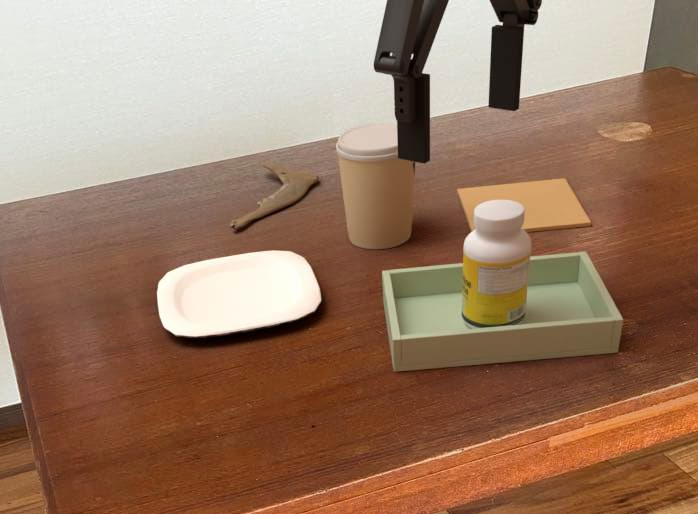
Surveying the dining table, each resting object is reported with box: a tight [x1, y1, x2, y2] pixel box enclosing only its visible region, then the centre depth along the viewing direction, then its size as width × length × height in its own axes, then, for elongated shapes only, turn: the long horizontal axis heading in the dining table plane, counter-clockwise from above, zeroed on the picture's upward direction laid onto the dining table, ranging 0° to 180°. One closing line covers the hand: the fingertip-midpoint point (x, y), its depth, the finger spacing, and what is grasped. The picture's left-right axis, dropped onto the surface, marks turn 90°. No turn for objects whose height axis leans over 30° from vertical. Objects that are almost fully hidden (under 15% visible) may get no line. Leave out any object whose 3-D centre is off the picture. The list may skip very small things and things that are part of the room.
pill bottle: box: [462, 200, 532, 329], centre depth 87 cm, size 6×6×12 cm
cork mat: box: [457, 177, 592, 233], centre depth 111 cm, size 14×14×1 cm
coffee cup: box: [335, 122, 416, 250], centre depth 106 cm, size 9×9×12 cm
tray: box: [381, 251, 624, 373], centre depth 90 cm, size 22×15×4 cm
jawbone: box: [229, 159, 319, 230], centre depth 120 cm, size 9×20×2 cm, turn 169°
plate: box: [156, 249, 322, 339], centre depth 100 cm, size 18×18×2 cm
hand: (460, 133), depth 76 cm, fingers open, 13 cm apart
